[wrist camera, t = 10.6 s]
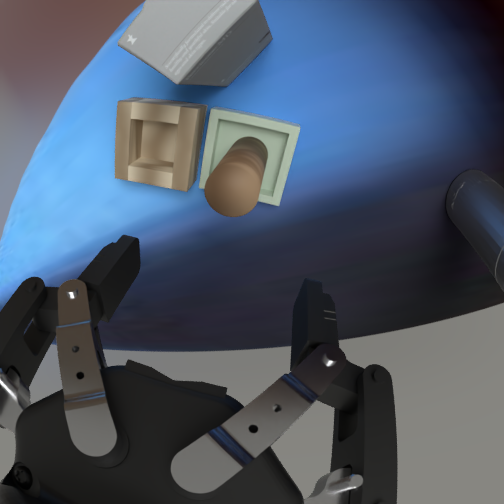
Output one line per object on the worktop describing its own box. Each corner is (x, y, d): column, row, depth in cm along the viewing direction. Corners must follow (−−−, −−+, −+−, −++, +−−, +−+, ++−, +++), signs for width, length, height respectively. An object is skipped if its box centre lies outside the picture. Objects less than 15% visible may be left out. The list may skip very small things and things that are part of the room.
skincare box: (228, 87, 29) (181, 99, 16) (182, 54, 27) (108, 48, 14) (277, 36, 25) (269, 3, 12) (229, 2, 22) (184, -45, 10)
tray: (299, 124, 31) (300, 127, 29) (279, 198, 36) (278, 206, 35) (215, 106, 30) (211, 108, 28) (203, 181, 36) (198, 187, 34)
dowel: (271, 141, 32) (264, 173, 22) (263, 175, 34) (252, 222, 24) (234, 132, 31) (208, 161, 22) (227, 167, 34) (201, 210, 24)
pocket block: (207, 105, 30) (198, 109, 27) (196, 179, 36) (186, 191, 33) (133, 97, 30) (117, 101, 27) (129, 167, 36) (114, 178, 33)
